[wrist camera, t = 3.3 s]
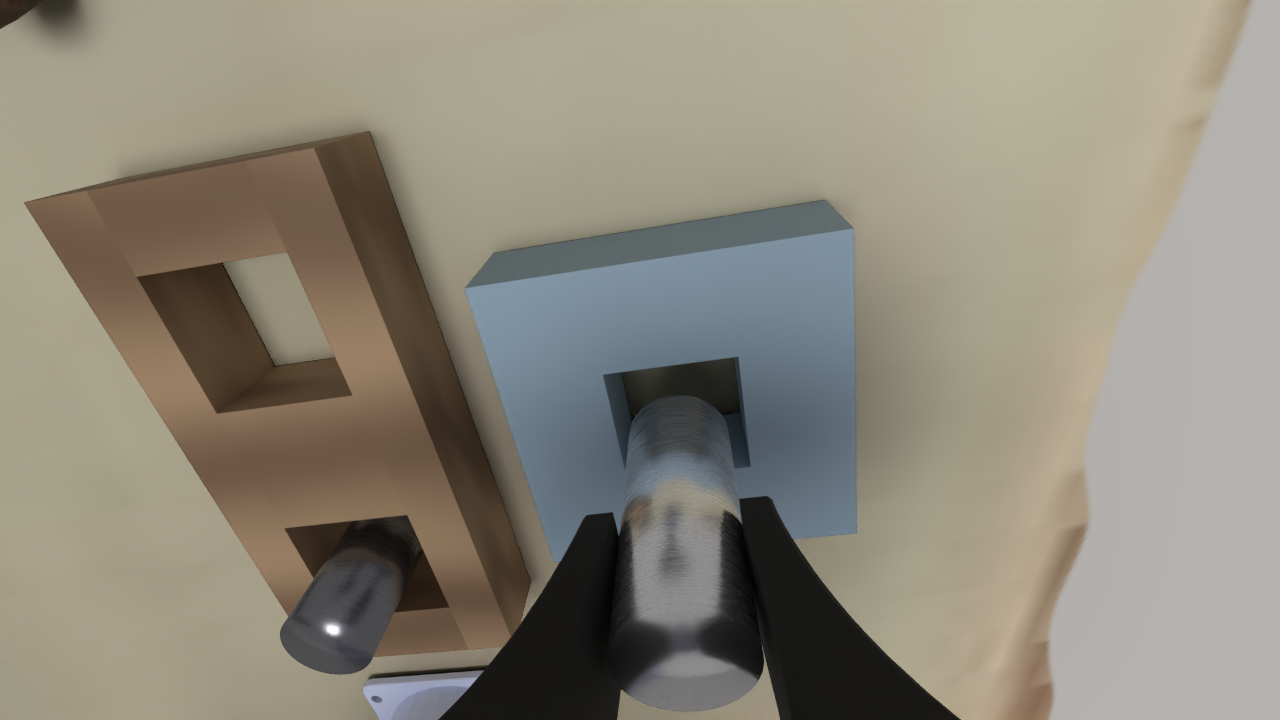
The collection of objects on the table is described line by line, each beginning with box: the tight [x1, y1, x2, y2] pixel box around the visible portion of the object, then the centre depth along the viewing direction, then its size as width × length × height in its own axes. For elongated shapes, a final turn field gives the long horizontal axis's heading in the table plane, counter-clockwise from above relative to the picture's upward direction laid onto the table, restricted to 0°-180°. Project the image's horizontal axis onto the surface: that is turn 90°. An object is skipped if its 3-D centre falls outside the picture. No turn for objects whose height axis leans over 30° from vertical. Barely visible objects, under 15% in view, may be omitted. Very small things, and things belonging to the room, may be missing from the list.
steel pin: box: [607, 395, 764, 712], centre depth 14 cm, size 3×3×7 cm
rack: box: [24, 131, 531, 657], centre depth 20 cm, size 18×8×3 cm, turn 10°
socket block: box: [465, 200, 857, 562], centre depth 19 cm, size 10×10×3 cm
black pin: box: [280, 515, 424, 674], centre depth 21 cm, size 3×3×6 cm
